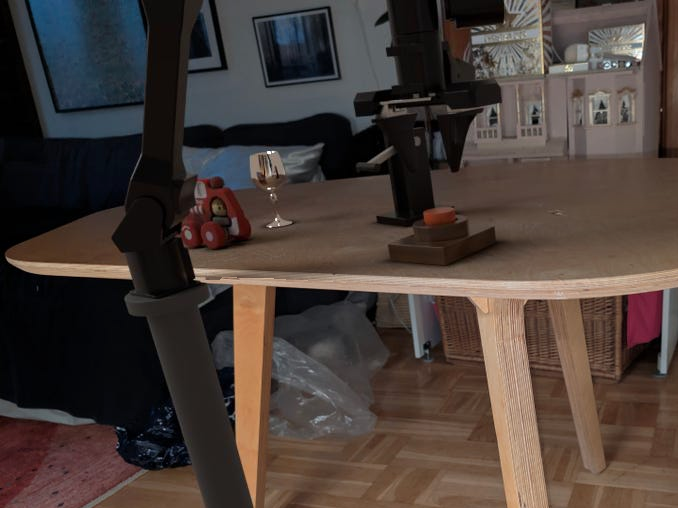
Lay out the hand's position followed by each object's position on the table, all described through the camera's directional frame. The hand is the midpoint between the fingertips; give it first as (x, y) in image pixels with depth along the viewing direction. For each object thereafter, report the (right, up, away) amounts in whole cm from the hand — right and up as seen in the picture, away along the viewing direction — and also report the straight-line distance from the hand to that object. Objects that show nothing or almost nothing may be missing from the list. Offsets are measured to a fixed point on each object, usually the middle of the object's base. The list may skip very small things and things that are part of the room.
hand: (434, 172), depth 87 cm
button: (+1, -6, +2) cm, 6 cm away
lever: (-8, +8, +21) cm, 24 cm away
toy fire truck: (-36, -5, +25) cm, 44 cm away
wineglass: (-29, 0, +35) cm, 46 cm away
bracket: (-5, 0, +27) cm, 27 cm away
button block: (+1, -9, +4) cm, 10 cm away
